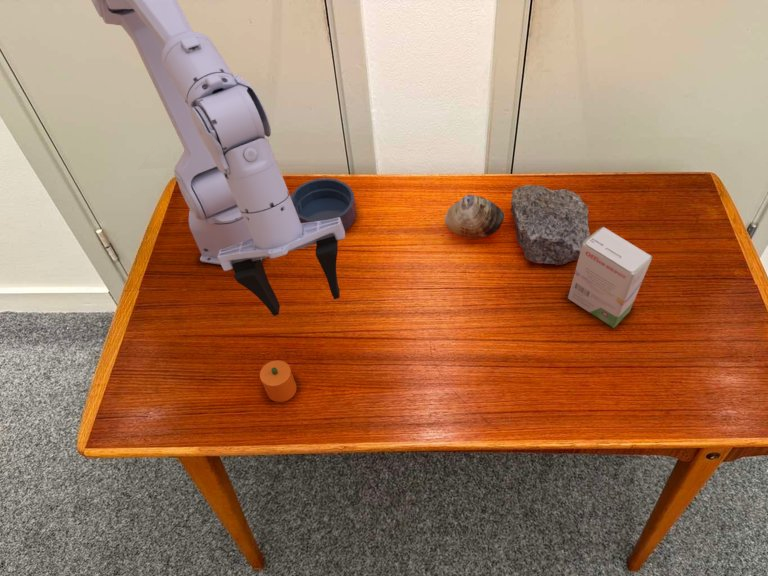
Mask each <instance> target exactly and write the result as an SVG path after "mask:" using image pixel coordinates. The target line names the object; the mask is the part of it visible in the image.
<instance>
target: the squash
mask: <svg viewBox="0 0 768 576" xmlns="http://www.w3.org/2000/svg"><path fill="white" fill-rule="evenodd" d="M259 378H260V382H261V383H262V386H263V388H264V391H265V392H266V395H267V397H268V398H269V399H270V400H271V401H273V402H275V403H284V402H287V401H289V400H291V399H292V398H293V397H294V396H295V394H296V392H297V387H298V386H297V383H296V381H295V378H294V375H293V372H292V370H291V366H290V365H289V364H288V363H287V362H285V361H284V360H280V359H278V360H277V359H276V360H272V361H269V362H267V363H265V364H264V365H263V366H262V368H261V369H260V371H259Z"/></svg>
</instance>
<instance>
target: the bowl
mask: <svg viewBox="0 0 768 576" xmlns="http://www.w3.org/2000/svg"><path fill="white" fill-rule="evenodd" d="M290 197H291V200H292V202H293V205H294V207H295V210H296V212H297V215H298V217H299V220H300V223H308V222H315V221H323V220H330V219H334V218H338V217H340V219H341V221H342V224H343V227H344V230H345V231H347V230H348V229H350V227H351V226H352V225H353V224H354V223H355V221H356V217H357V215H358V214H357V206H356V205H357V204H356V198H355V193H354V192H353V189H352V188H351V187H350V185H348V184H347V183H345V182H344V181H341V180H338V179H336V178H330V177H329V178H328V177H324V178H315V179H311V180H308V181H306V182H304V183H301V185H299V186H298V187H296V189H294V191H293V192H292V193H291V195H290Z"/></svg>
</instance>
